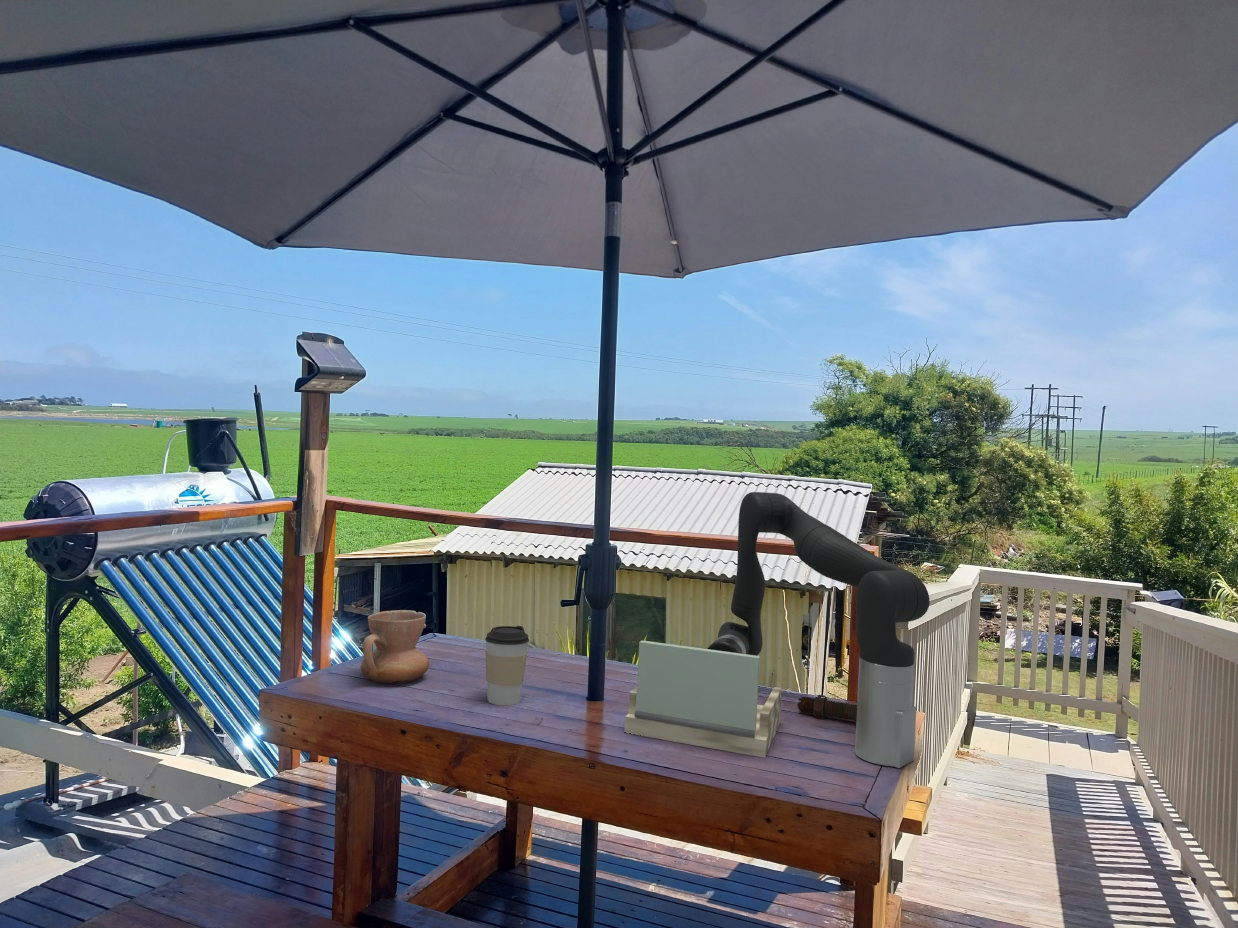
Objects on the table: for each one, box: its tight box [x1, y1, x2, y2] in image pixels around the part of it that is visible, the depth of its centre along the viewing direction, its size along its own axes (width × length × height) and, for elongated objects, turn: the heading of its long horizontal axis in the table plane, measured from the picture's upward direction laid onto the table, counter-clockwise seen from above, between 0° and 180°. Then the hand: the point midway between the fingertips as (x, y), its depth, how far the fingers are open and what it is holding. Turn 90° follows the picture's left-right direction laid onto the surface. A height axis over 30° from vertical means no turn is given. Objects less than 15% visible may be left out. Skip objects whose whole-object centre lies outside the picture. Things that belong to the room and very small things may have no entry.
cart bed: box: [623, 686, 783, 759], centre depth 143 cm, size 20×26×7 cm
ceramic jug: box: [360, 609, 430, 684], centre depth 164 cm, size 18×14×14 cm
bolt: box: [797, 694, 857, 722], centre depth 153 cm, size 6×5×15 cm
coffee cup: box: [484, 625, 530, 706], centre depth 154 cm, size 9×9×15 cm
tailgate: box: [634, 640, 761, 738], centre depth 134 cm, size 2×22×14 cm, turn 70°
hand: (708, 674), depth 144 cm, fingers closed
